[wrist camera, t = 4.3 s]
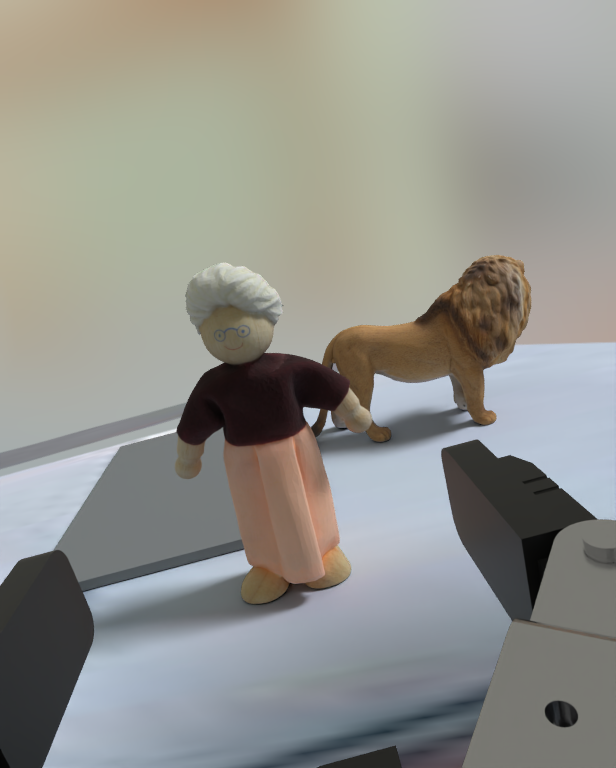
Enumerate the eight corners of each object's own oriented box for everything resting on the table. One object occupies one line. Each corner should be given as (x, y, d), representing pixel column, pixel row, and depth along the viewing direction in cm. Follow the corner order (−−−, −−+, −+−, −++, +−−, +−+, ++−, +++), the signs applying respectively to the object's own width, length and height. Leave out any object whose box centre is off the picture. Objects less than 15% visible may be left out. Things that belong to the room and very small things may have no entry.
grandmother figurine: (221, 636, 20) (102, 296, 17) (215, 577, 24) (115, 288, 20) (415, 565, 21) (342, 233, 18) (380, 519, 25) (314, 236, 21)
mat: (299, 406, 43) (297, 400, 43) (325, 527, 25) (322, 517, 25) (122, 452, 43) (120, 446, 42) (28, 605, 25) (24, 596, 25)
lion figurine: (528, 383, 36) (509, 244, 34) (561, 411, 31) (542, 250, 28) (308, 431, 37) (274, 302, 35) (306, 465, 32) (266, 317, 30)
